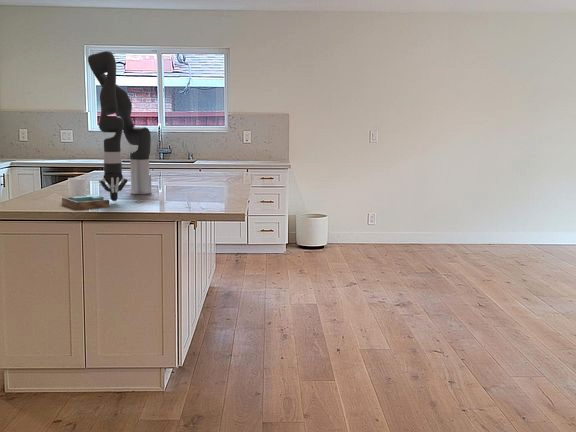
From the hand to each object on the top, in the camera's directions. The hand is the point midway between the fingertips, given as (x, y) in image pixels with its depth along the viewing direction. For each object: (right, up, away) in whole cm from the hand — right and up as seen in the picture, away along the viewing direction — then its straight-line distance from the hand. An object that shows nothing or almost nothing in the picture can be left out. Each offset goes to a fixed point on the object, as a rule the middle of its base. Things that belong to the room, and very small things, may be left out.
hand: (114, 200), depth 274 cm
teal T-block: (-10, -2, -8) cm, 13 cm away
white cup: (-19, 0, +8) cm, 21 cm away
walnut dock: (-9, -2, -8) cm, 13 cm away
